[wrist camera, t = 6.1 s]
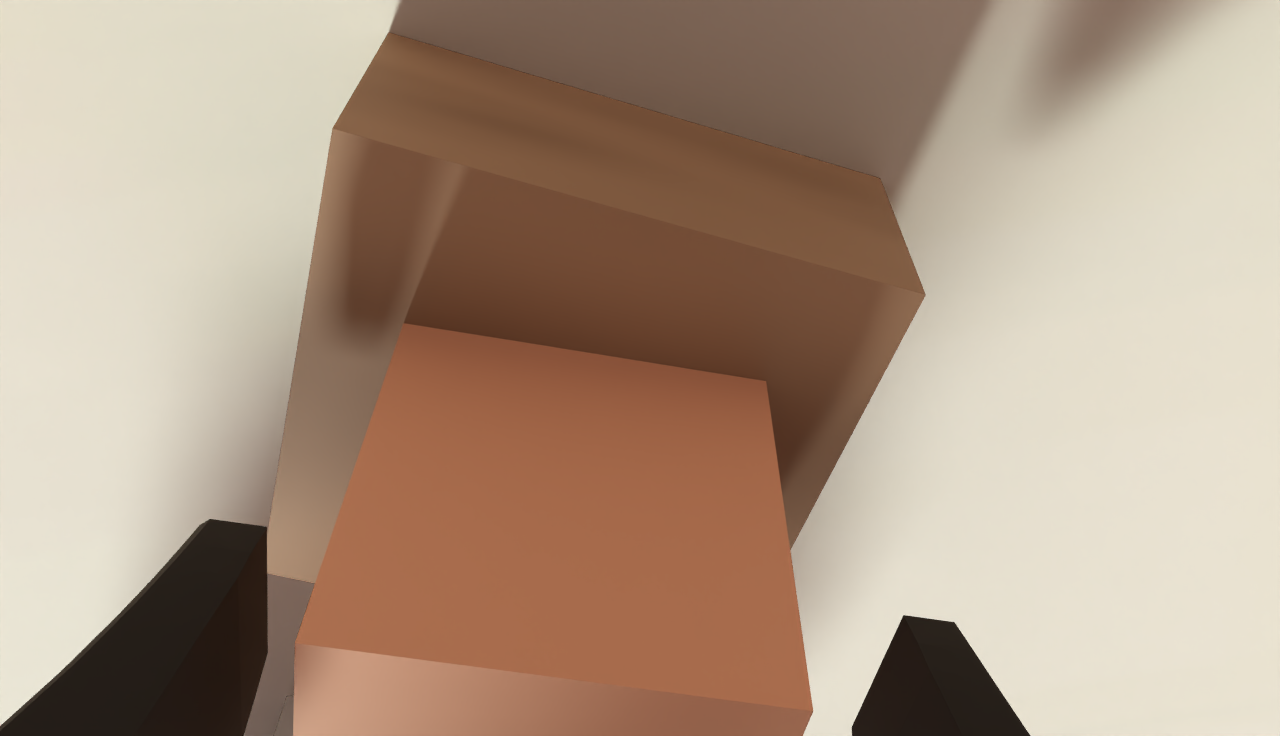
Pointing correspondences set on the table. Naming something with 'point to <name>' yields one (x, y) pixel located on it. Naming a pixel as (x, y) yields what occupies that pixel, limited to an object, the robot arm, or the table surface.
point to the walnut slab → (579, 264)
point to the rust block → (555, 555)
